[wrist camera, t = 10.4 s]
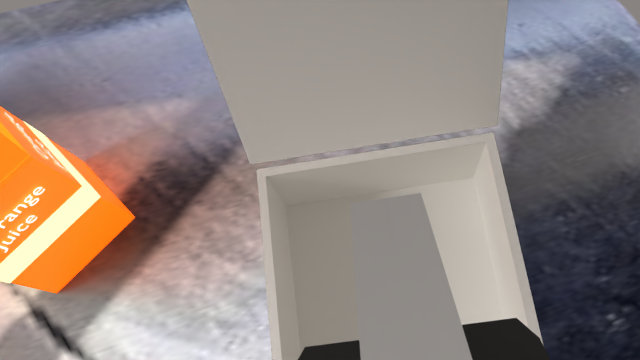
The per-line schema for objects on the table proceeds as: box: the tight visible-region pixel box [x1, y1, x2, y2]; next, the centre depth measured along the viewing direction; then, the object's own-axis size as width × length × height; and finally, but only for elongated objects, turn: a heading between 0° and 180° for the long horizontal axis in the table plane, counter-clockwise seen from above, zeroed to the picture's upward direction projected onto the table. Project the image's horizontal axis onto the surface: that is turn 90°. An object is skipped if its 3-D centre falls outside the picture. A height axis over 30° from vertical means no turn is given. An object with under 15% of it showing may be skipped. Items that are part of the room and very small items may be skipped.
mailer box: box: [256, 132, 543, 360], centre depth 39 cm, size 20×16×8 cm
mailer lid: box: [187, 0, 508, 165], centre depth 30 cm, size 21×17×3 cm
